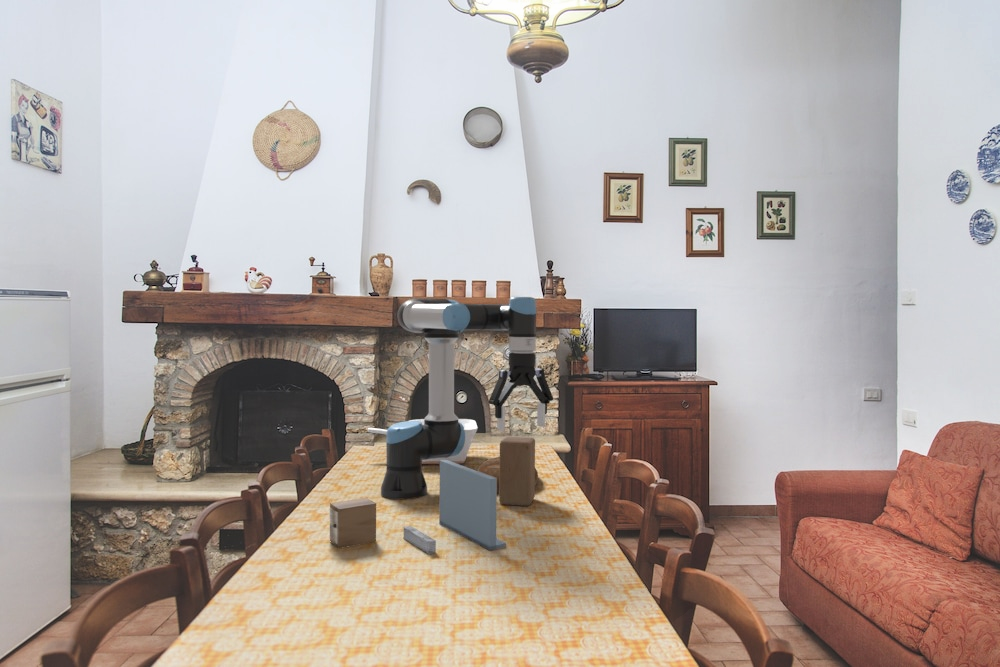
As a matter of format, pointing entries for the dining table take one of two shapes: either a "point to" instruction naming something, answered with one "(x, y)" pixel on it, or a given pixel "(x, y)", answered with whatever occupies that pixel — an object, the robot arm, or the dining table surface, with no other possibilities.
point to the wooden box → (352, 522)
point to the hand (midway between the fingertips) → (521, 428)
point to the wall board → (469, 504)
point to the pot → (470, 431)
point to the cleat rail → (420, 540)
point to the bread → (496, 469)
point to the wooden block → (517, 471)
